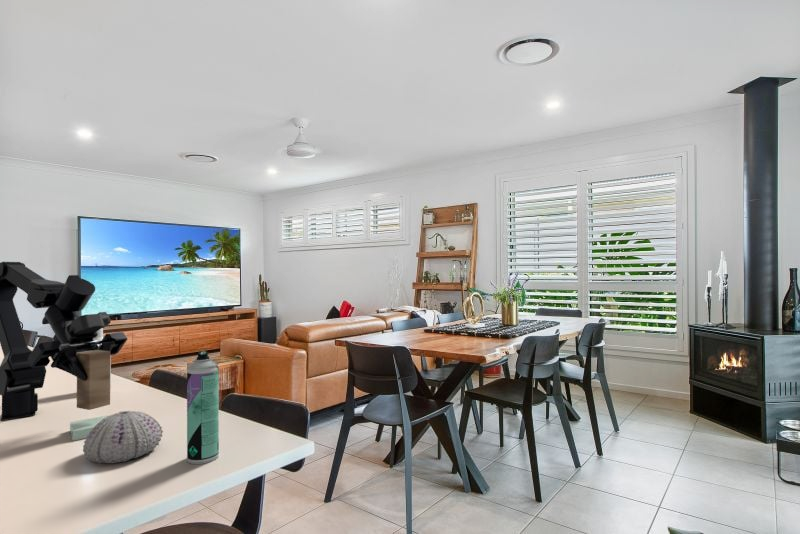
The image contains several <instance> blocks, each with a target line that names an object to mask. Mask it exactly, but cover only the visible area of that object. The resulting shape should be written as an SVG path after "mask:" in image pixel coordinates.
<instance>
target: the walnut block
mask: <svg viewBox="0 0 800 534" xmlns="http://www.w3.org/2000/svg"><path fill="white" fill-rule="evenodd" d="M77 357H78V359H79V361H80V363H81V364H82V366H83V368H84V370H85V371H86V374H87V376H88V378H87V380H86V381H83V380H82V379H80V378H78V377H76V408H78V409H83V410H89V411H91V410H94V409H99V408H102V407H105V406H109V405H111V389H110V351H102V350H95V351H88V352H82V353H77Z"/></svg>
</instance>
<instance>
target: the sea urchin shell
mask: <svg viewBox="0 0 800 534" xmlns="http://www.w3.org/2000/svg"><path fill="white" fill-rule="evenodd" d="M109 415H110V416H108V417H106V418H104V419H103V420H101V421H100V422H99V423H98V424H97V425H96V426H95V427H94V428H93V429H92V430H91V431H90V433H89V435H87V438H85V440H84V441H83V446H82V447H83V449H82V452H83V454H84V455H83V456H85V458H86V459H89V461H91V462H94V463H96V464H97V463H98V464H99V463H100V464H117V463H120V462H121V463H123V462H126V461H128V462H129V461H130V460H131V459H137V458H139V457H143V455H146V454H149V453H150V452H152V451H153V450H155V448H156V447H157V446H159V445H160V442H161V441H162V437H163V433H164V430H163V429H162V428H163V427H162V425H161V424H160V423H159V422H158V421H157V420H156V418H154V417H152V415H150V414H148V413H146V412H143V411H135V410H124V411H119V412H116V413H113V414H109Z"/></svg>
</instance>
